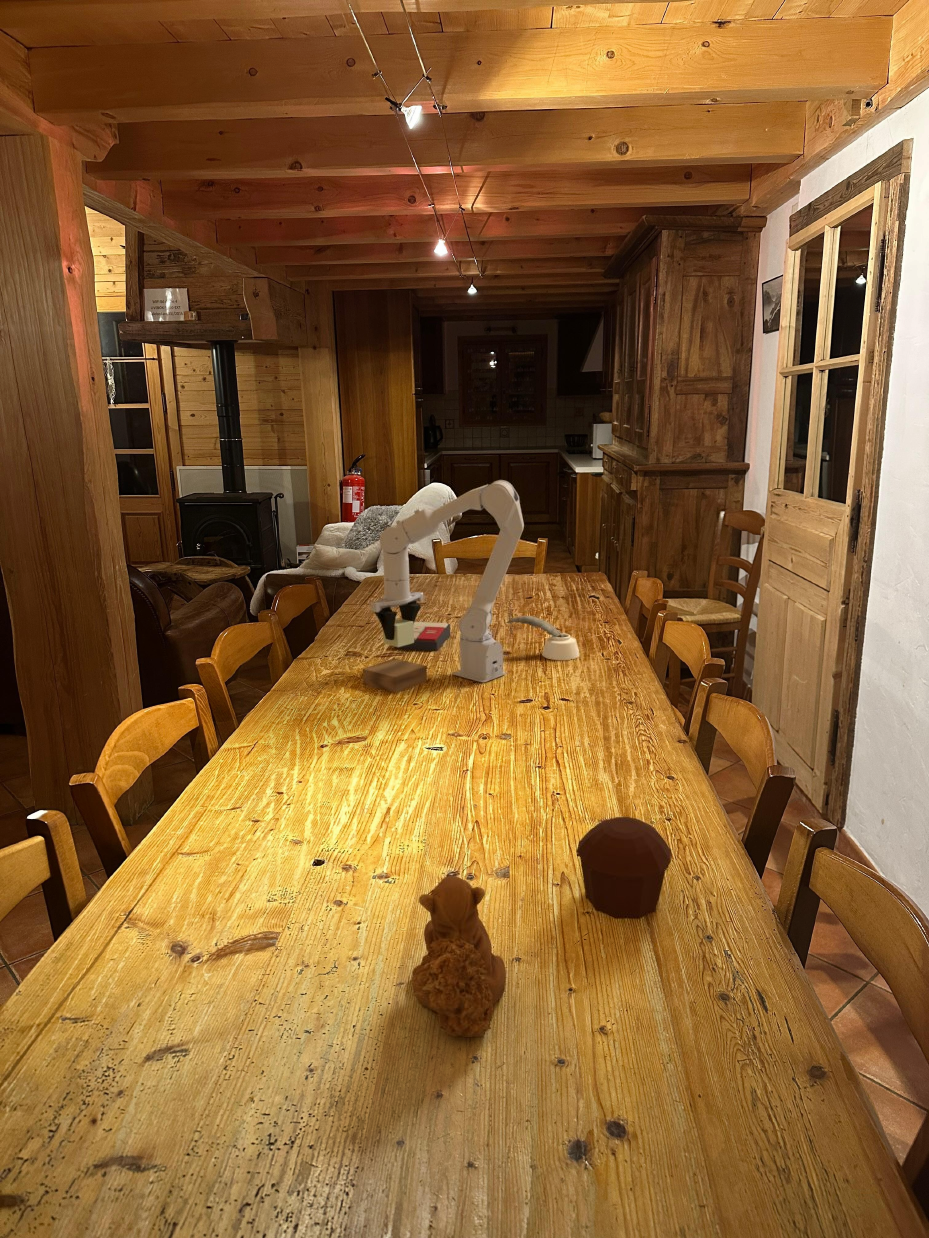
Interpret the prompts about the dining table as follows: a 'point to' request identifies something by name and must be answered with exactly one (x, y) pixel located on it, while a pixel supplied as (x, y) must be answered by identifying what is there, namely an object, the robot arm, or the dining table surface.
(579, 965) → the dining table surface
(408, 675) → the walnut riser
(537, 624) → the inkwell
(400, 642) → the sage cube
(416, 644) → the red cream box
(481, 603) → the robot arm
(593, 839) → the muffin
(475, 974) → the stuffed squirrel
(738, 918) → the dining table surface
